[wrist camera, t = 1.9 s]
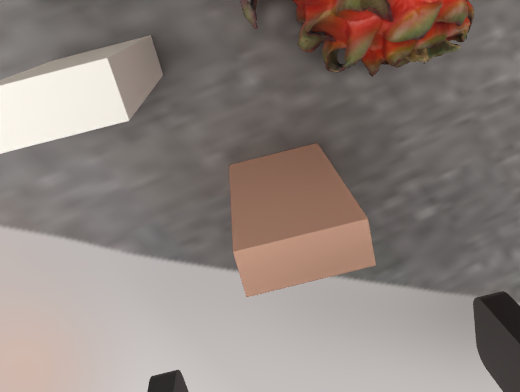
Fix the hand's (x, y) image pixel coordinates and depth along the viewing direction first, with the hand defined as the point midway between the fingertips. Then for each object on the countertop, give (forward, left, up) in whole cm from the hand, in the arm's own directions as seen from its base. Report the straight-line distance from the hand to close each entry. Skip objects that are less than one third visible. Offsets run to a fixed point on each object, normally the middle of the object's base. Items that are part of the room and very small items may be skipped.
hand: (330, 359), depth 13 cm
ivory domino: (+7, -8, -15) cm, 18 cm away
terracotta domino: (0, 0, -15) cm, 15 cm away
